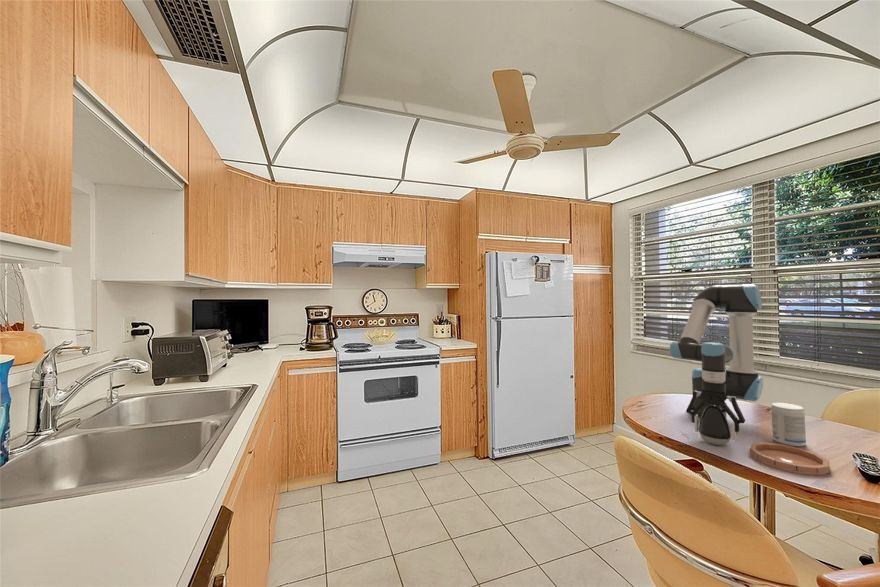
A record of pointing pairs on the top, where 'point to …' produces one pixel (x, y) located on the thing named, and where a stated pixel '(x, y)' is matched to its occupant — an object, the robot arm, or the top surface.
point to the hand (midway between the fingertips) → (714, 435)
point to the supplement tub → (788, 424)
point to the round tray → (790, 458)
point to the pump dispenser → (714, 426)
